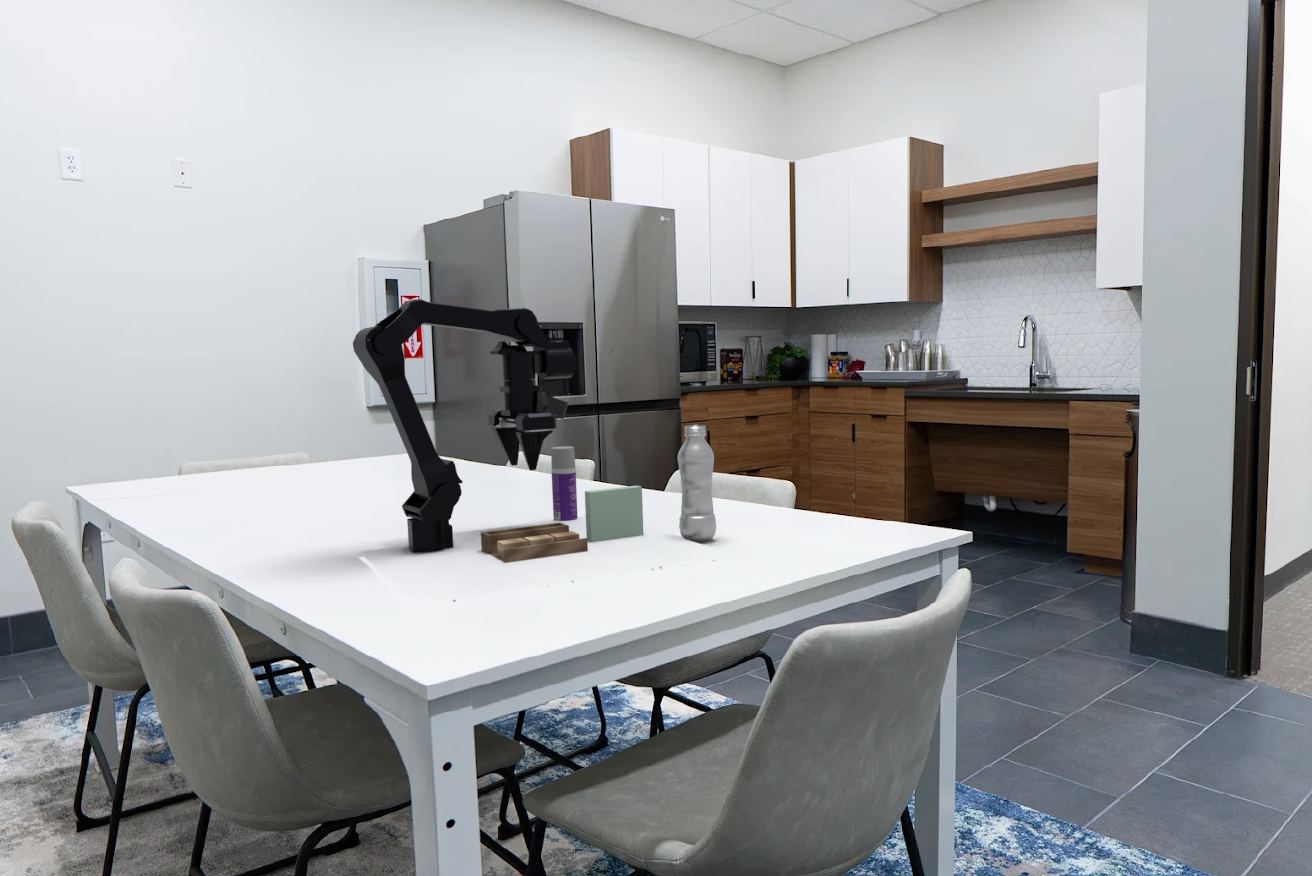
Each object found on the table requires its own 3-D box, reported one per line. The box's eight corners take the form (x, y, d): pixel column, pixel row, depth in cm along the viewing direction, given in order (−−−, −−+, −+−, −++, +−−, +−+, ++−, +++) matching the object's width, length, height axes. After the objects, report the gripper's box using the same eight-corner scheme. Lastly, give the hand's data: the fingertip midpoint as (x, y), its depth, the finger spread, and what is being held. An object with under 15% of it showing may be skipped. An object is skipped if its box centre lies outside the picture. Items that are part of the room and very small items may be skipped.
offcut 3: (557, 552, 148) (556, 537, 147) (550, 549, 150) (549, 534, 150) (579, 549, 150) (579, 534, 149) (572, 546, 152) (571, 531, 152)
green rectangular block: (591, 544, 155) (589, 492, 154) (586, 543, 157) (584, 491, 156) (643, 537, 160) (641, 486, 159) (638, 535, 162) (636, 485, 161)
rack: (505, 568, 141) (504, 543, 141) (480, 555, 152) (479, 531, 151) (588, 556, 148) (587, 532, 148) (559, 544, 159) (558, 521, 158)
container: (576, 525, 176) (573, 448, 175) (552, 526, 176) (549, 449, 175) (578, 521, 181) (576, 446, 180) (555, 521, 181) (552, 446, 180)
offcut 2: (531, 555, 145) (530, 540, 145) (524, 552, 148) (523, 537, 148) (554, 552, 147) (553, 537, 147) (547, 549, 150) (546, 534, 150)
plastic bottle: (717, 536, 161) (714, 423, 159) (716, 544, 154) (713, 427, 153) (681, 537, 162) (677, 424, 160) (678, 545, 155) (674, 427, 153)
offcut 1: (504, 559, 143) (503, 544, 143) (497, 556, 146) (497, 541, 146) (528, 556, 145) (527, 540, 145) (521, 553, 148) (520, 537, 148)
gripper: (582, 378, 157) (586, 468, 159) (542, 378, 174) (545, 459, 175) (521, 381, 152) (525, 474, 153) (485, 380, 168) (489, 464, 170)
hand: (523, 467), depth 163 cm, fingers open, 9 cm apart
